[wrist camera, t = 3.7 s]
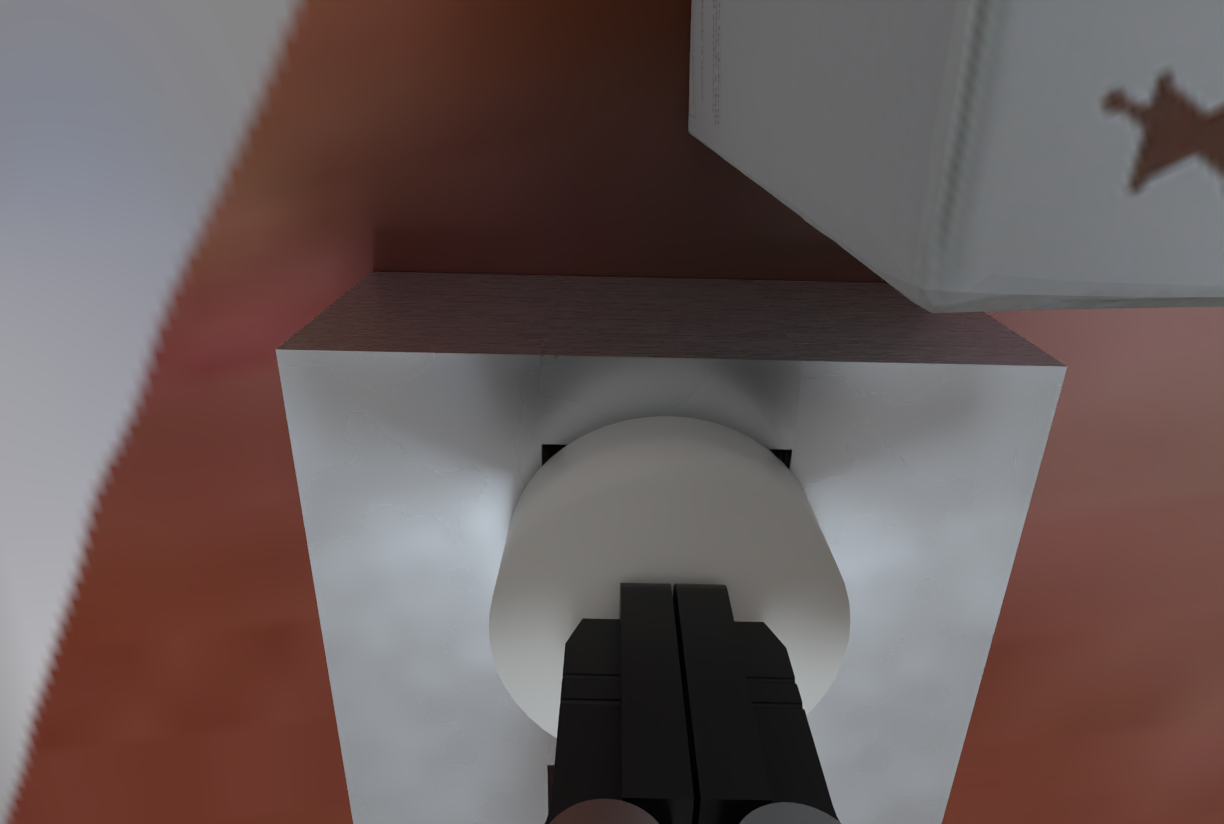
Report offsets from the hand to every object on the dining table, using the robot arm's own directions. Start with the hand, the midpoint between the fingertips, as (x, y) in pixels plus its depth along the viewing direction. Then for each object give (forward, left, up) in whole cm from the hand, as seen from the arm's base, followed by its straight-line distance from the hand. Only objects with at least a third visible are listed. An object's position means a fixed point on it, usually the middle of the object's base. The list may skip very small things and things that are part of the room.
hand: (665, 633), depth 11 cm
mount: (0, +7, -7) cm, 10 cm away
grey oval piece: (0, 0, -6) cm, 6 cm away
